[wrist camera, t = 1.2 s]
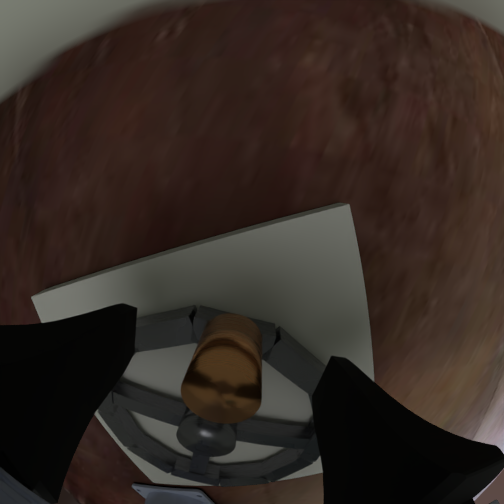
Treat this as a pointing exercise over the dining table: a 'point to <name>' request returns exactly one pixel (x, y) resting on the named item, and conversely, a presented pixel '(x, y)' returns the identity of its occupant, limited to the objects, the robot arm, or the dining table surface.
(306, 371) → the handwheel
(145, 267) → the base plate
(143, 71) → the dining table surface
